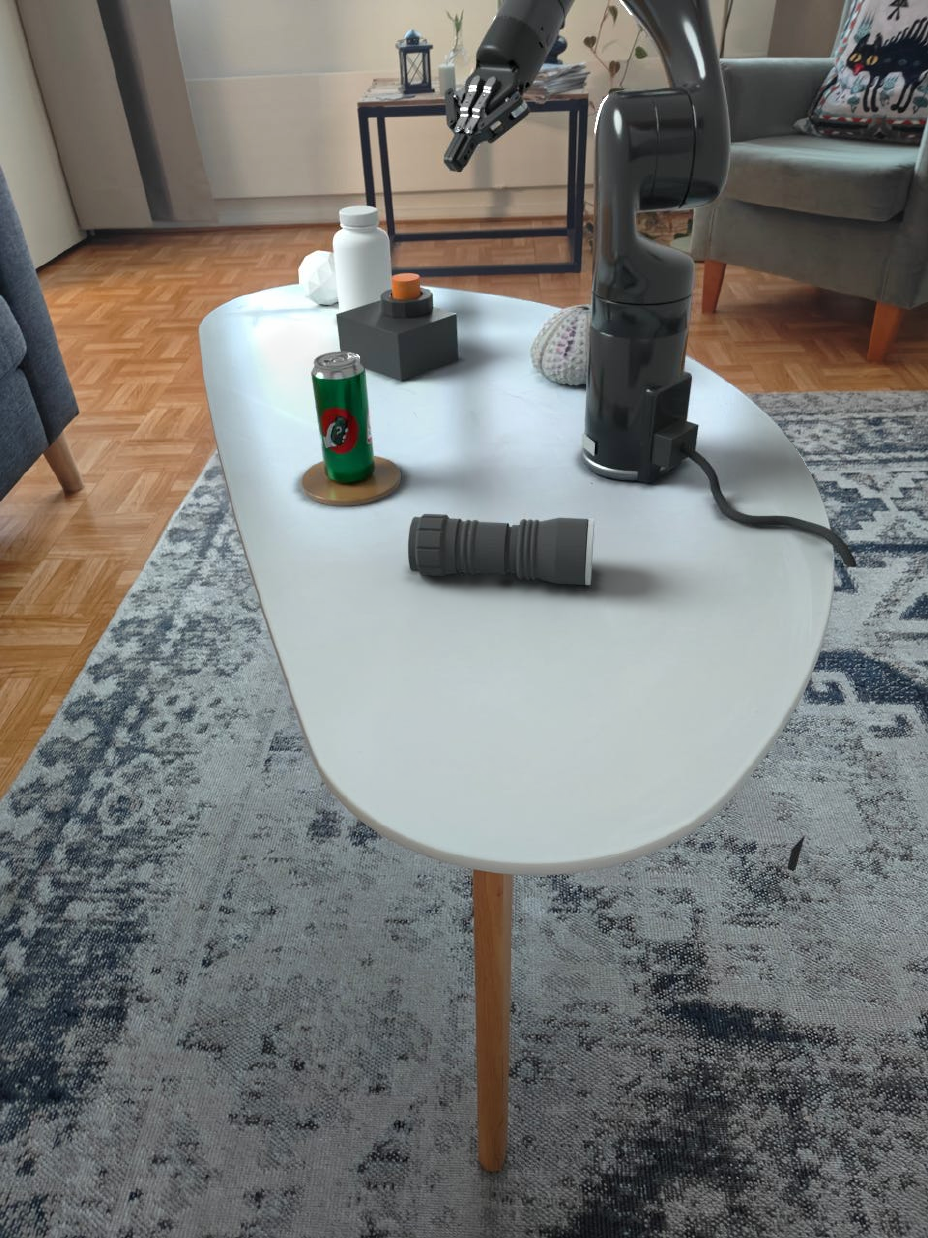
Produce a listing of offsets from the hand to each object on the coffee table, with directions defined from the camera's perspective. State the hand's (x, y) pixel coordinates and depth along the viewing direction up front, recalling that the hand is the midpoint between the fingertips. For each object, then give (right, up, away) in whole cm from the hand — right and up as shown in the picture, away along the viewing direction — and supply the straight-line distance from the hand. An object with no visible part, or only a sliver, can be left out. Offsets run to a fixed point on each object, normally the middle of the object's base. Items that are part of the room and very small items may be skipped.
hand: (451, 167), depth 108 cm
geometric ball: (-20, -5, +31) cm, 37 cm away
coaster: (-10, -40, -17) cm, 45 cm away
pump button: (-6, -13, +7) cm, 16 cm away
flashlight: (+5, -51, -31) cm, 60 cm away
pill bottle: (-13, -10, +24) cm, 29 cm away
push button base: (-7, -20, +10) cm, 24 cm away
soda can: (-10, -40, -17) cm, 44 cm away
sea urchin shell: (+16, -23, +5) cm, 29 cm away
